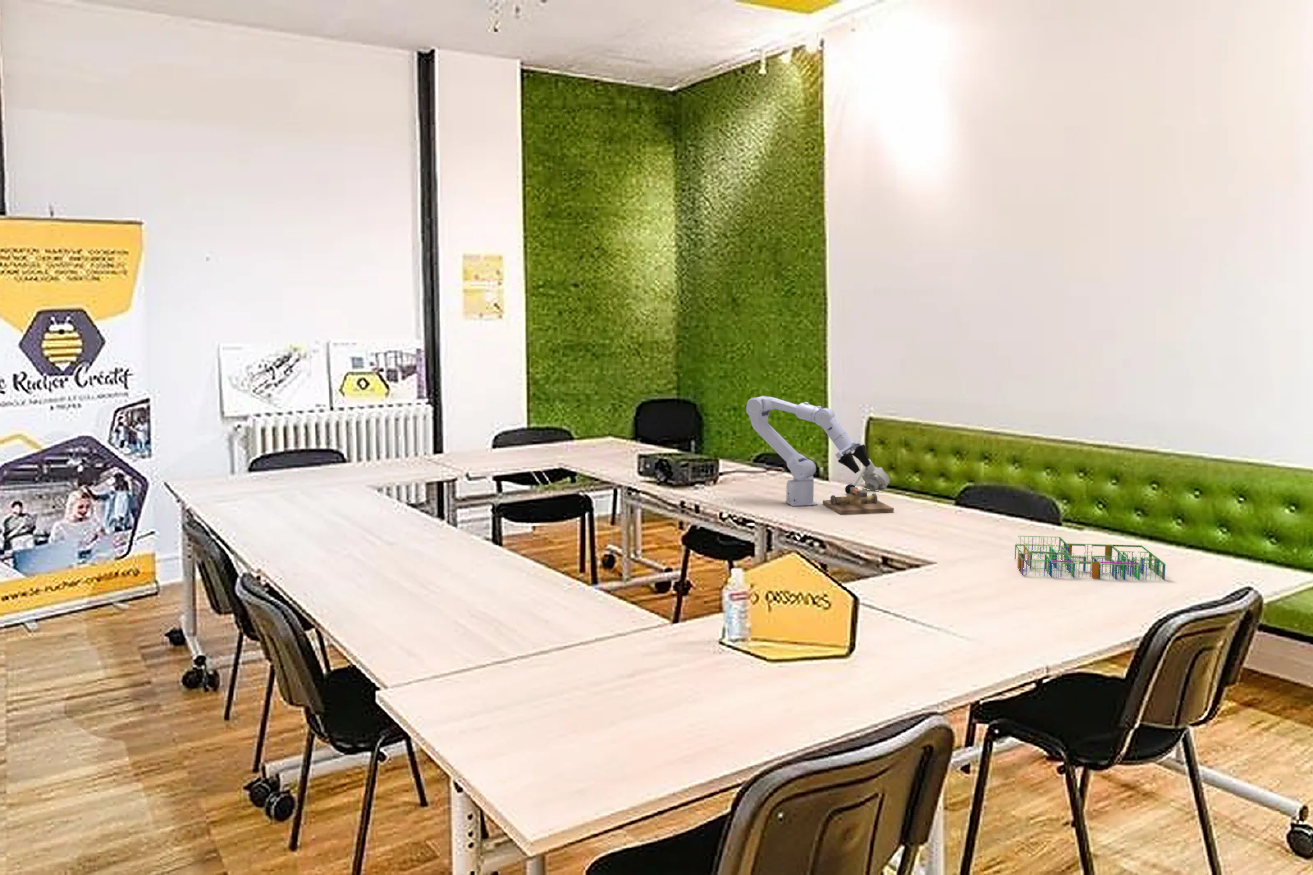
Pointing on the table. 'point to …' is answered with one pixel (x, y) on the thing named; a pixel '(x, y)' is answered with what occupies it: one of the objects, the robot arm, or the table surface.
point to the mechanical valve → (871, 478)
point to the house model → (1095, 565)
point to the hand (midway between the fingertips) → (863, 468)
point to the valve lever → (858, 492)
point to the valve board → (857, 505)
